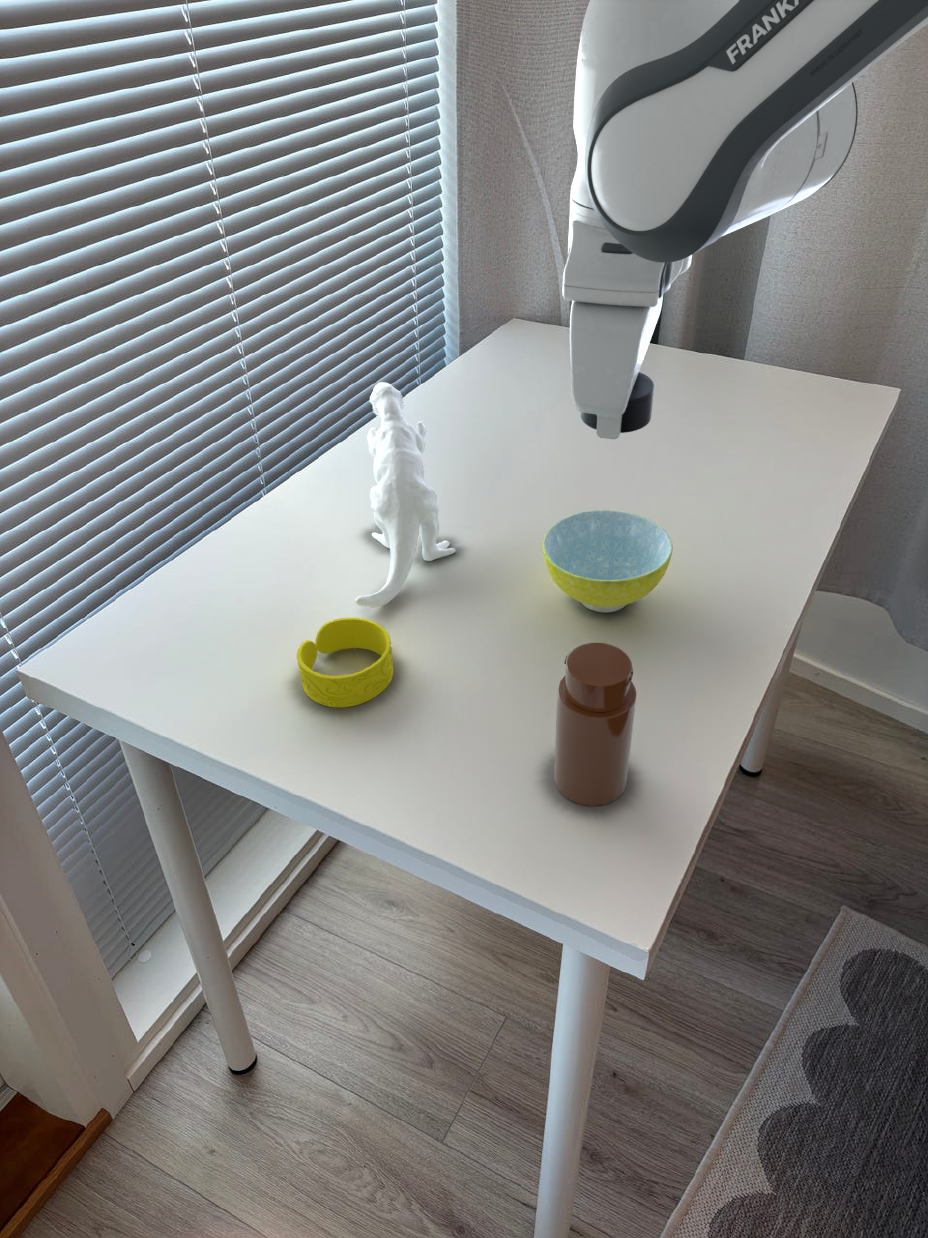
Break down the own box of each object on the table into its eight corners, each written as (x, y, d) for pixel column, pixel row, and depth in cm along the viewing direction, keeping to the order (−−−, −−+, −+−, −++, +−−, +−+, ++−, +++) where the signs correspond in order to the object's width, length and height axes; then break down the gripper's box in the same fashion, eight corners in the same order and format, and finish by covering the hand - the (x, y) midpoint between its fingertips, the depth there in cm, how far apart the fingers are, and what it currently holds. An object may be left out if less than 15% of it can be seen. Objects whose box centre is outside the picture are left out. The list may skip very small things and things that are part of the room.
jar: (631, 759, 72) (645, 644, 65) (620, 813, 68) (632, 697, 61) (562, 746, 74) (567, 631, 66) (546, 797, 70) (550, 682, 62)
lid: (573, 429, 75) (574, 396, 73) (586, 396, 79) (588, 365, 78) (645, 436, 74) (648, 403, 72) (655, 403, 78) (658, 371, 76)
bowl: (525, 574, 91) (525, 520, 87) (636, 553, 93) (641, 499, 90) (565, 648, 83) (568, 591, 79) (686, 623, 85) (695, 566, 81)
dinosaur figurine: (381, 504, 102) (368, 374, 93) (469, 510, 100) (464, 379, 91) (327, 619, 87) (305, 479, 77) (430, 629, 85) (420, 486, 76)
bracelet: (410, 663, 82) (408, 633, 80) (355, 720, 77) (351, 691, 75) (342, 635, 85) (338, 607, 83) (285, 689, 80) (279, 660, 78)
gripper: (611, 194, 76) (600, 358, 85) (556, 284, 61) (550, 472, 70) (691, 199, 75) (672, 365, 83) (655, 292, 60) (636, 482, 68)
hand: (616, 414), depth 76 cm, fingers closed on lid, 5 cm apart
